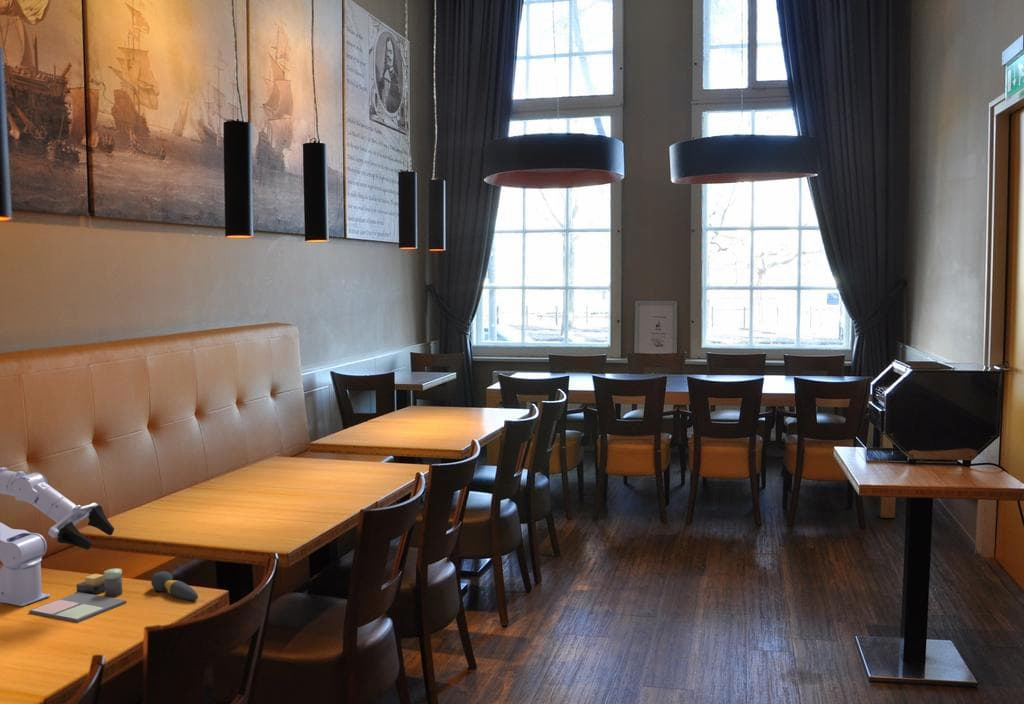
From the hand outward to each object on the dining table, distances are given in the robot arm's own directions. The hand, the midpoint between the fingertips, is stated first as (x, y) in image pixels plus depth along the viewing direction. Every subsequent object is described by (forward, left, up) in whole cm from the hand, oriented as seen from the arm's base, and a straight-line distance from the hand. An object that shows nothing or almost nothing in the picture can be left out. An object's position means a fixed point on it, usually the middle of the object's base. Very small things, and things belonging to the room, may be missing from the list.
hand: (101, 539), depth 216 cm
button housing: (-11, +7, -16) cm, 21 cm away
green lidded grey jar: (-4, +6, -16) cm, 18 cm away
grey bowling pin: (+10, +13, -17) cm, 23 cm away
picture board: (-4, -4, -16) cm, 17 cm away
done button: (-11, +7, -15) cm, 19 cm away
